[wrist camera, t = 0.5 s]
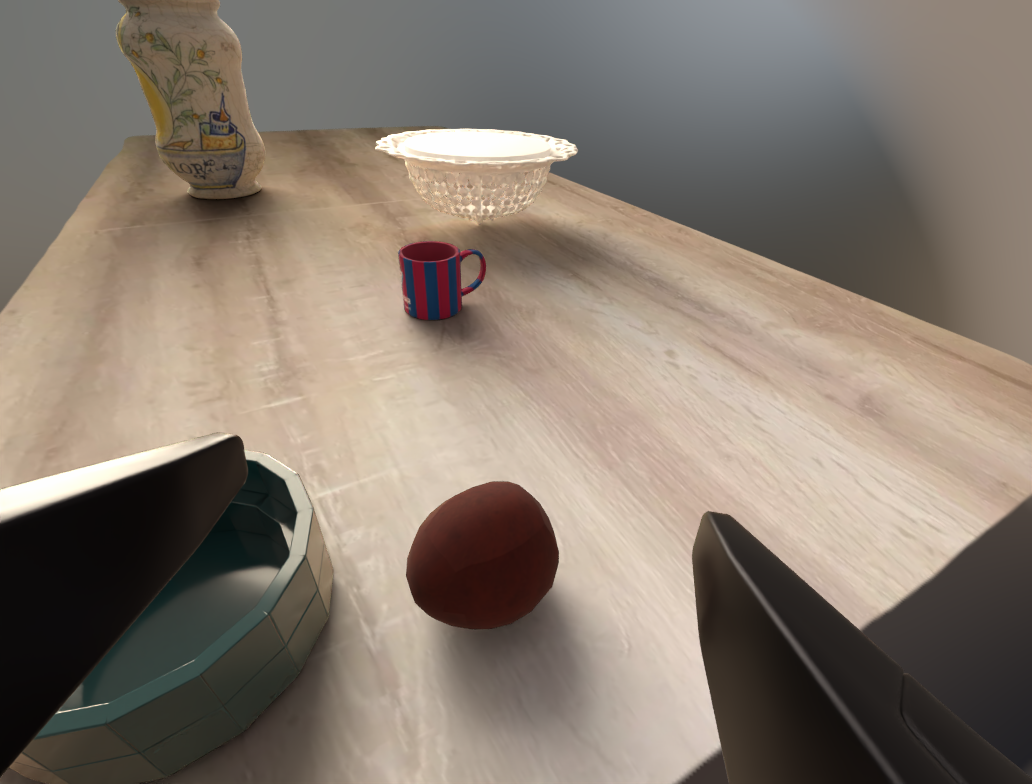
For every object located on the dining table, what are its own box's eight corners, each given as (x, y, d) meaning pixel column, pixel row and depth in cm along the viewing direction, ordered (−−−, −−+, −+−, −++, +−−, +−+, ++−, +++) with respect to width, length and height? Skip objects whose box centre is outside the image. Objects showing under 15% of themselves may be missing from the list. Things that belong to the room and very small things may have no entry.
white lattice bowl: (344, 233, 77) (328, 145, 70) (450, 192, 101) (447, 123, 93) (523, 272, 66) (527, 173, 59) (595, 216, 90) (605, 140, 82)
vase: (174, 184, 98) (105, -7, 80) (269, 177, 105) (225, 1, 87) (172, 207, 85) (90, -14, 67) (281, 198, 92) (232, -4, 75)
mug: (400, 298, 58) (394, 243, 54) (479, 289, 61) (479, 236, 57) (409, 323, 53) (403, 264, 49) (495, 312, 56) (495, 256, 52)
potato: (390, 579, 28) (373, 499, 24) (508, 515, 32) (511, 437, 28) (451, 692, 23) (443, 616, 19) (581, 601, 27) (597, 522, 23)
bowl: (222, 834, 19) (161, 785, 15) (-82, 750, 21) (-198, 689, 17) (375, 535, 31) (360, 468, 27) (171, 498, 32) (133, 430, 29)
